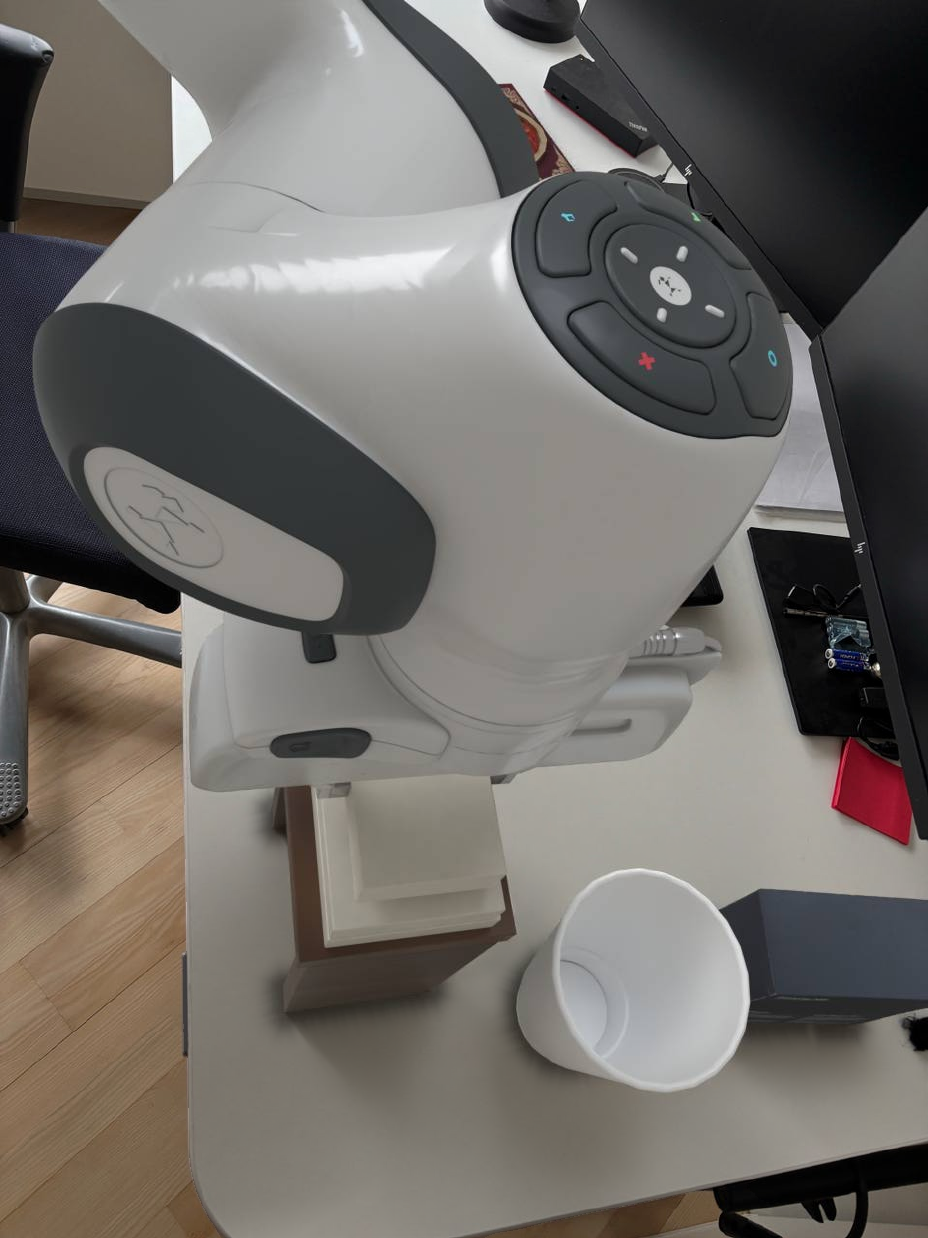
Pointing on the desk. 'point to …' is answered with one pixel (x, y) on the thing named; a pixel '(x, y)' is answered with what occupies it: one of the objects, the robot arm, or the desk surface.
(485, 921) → the white books
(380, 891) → the ivory book
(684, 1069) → the cup
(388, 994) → the walnut shelf
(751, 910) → the small box
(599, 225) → the robot arm
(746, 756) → the desk surface
